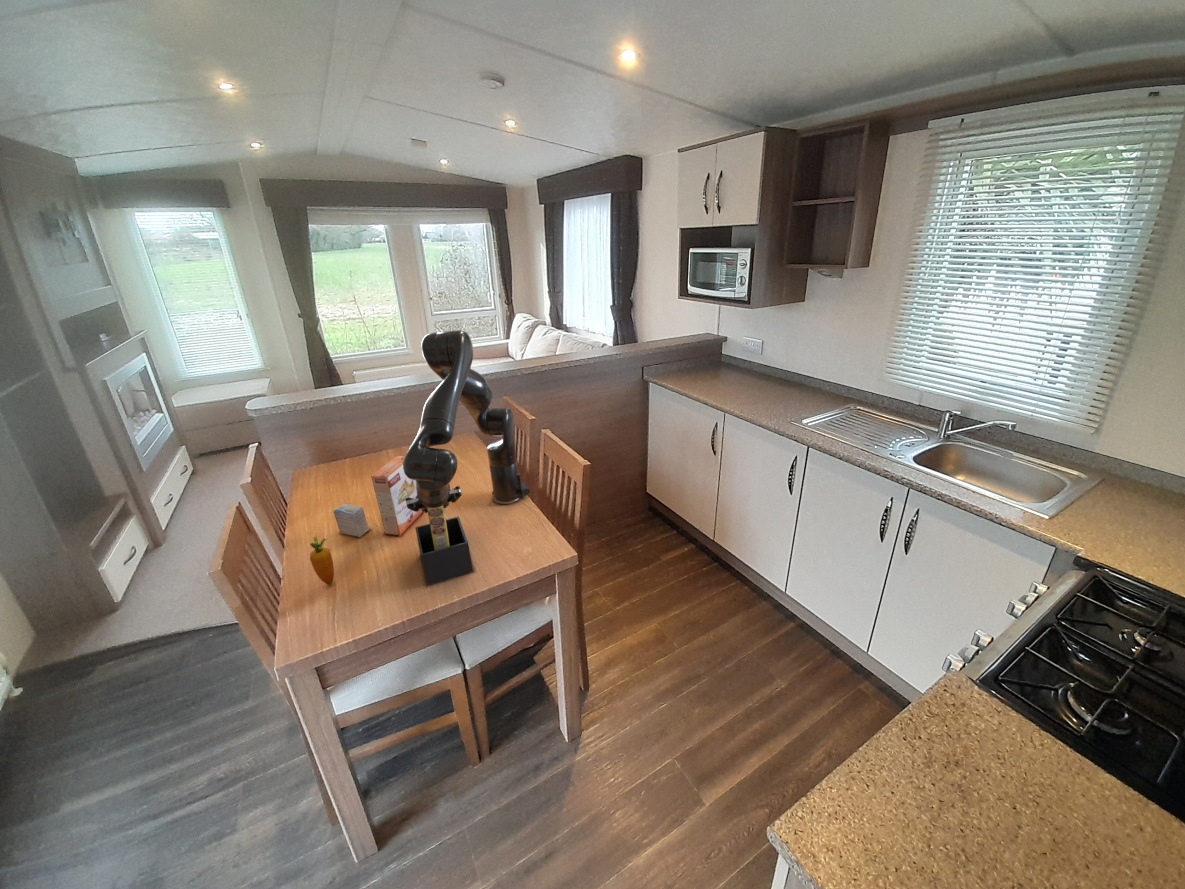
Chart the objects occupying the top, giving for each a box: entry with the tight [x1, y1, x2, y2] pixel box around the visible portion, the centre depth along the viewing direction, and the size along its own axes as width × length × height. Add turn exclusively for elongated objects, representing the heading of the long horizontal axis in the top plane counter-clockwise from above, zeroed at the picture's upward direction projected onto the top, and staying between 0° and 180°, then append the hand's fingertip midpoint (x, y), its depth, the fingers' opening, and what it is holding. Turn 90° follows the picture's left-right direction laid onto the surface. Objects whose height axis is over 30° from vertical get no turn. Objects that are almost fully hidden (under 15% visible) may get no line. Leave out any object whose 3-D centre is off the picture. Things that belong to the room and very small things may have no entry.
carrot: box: [309, 536, 335, 586], centre depth 125 cm, size 5×5×15 cm
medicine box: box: [332, 503, 370, 538], centre depth 149 cm, size 8×4×9 cm, turn 71°
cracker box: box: [370, 455, 423, 536], centre depth 150 cm, size 14×6×21 cm, turn 168°
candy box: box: [427, 505, 450, 550], centre depth 128 cm, size 9×4×15 cm, turn 20°
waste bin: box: [414, 515, 474, 586], centre depth 133 cm, size 12×14×10 cm
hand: (435, 506), depth 129 cm, fingers closed on candy box, 4 cm apart
